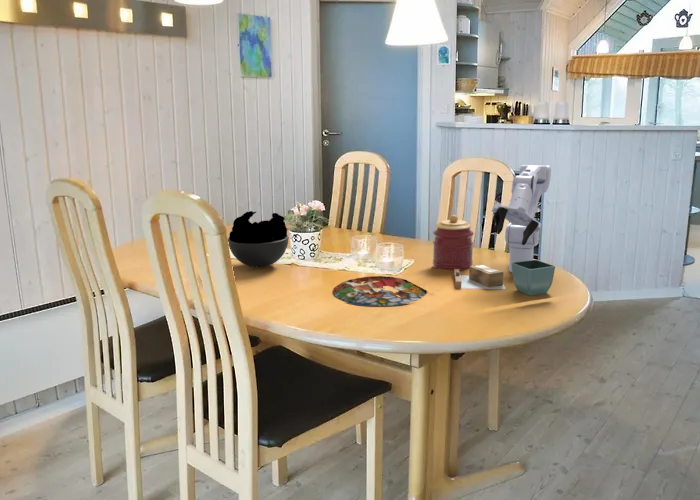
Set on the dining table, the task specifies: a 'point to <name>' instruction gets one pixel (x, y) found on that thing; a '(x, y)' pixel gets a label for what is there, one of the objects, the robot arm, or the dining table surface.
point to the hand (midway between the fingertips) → (511, 237)
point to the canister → (453, 244)
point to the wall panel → (470, 282)
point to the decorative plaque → (378, 291)
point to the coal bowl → (258, 240)
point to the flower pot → (532, 276)
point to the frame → (486, 275)
